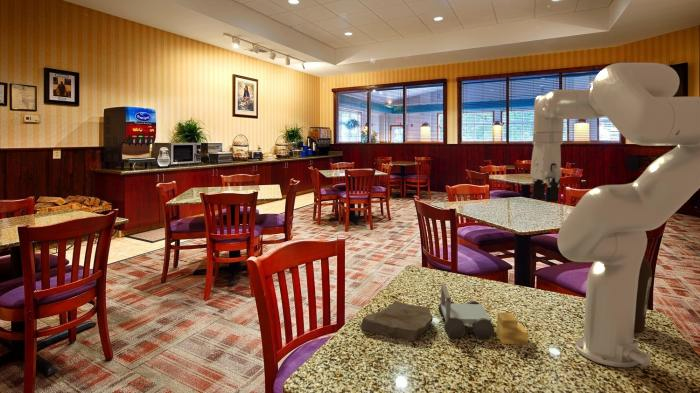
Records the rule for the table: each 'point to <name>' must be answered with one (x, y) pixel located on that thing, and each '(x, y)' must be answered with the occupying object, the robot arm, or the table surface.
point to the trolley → (464, 317)
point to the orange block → (510, 329)
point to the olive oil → (642, 295)
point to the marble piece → (399, 321)
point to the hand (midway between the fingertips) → (544, 199)
